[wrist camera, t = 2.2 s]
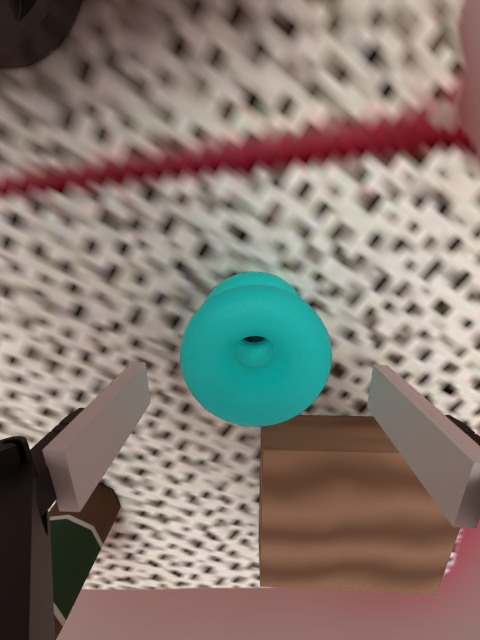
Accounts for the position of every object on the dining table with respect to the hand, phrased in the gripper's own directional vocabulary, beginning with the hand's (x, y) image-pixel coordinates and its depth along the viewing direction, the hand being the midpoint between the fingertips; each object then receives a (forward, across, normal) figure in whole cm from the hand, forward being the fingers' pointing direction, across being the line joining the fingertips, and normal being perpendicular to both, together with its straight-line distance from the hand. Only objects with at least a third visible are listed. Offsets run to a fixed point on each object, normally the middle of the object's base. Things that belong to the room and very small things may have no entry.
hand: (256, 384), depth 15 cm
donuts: (+11, 0, +1) cm, 11 cm away
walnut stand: (+11, +11, -20) cm, 26 cm away
